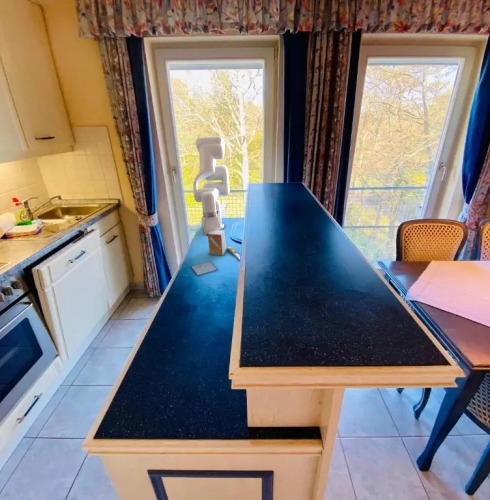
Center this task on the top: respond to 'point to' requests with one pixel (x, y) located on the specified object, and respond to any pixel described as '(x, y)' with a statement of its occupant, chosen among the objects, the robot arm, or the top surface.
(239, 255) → the knife
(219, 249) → the small box
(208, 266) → the cloth
